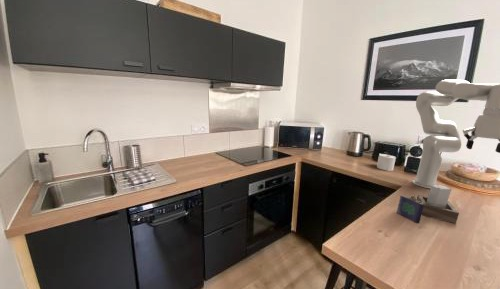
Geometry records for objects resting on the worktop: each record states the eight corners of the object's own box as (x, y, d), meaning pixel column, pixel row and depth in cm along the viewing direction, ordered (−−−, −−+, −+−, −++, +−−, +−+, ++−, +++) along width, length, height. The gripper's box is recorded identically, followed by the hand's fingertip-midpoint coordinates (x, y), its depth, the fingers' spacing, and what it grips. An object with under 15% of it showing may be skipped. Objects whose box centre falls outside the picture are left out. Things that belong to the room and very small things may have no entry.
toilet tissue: (389, 172, 152) (392, 158, 150) (372, 167, 162) (374, 154, 159) (395, 169, 158) (398, 156, 156) (378, 164, 168) (380, 152, 166)
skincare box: (435, 208, 100) (442, 184, 98) (444, 213, 96) (452, 189, 93) (423, 208, 100) (430, 184, 97) (432, 213, 95) (439, 188, 93)
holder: (415, 203, 106) (417, 194, 105) (446, 210, 100) (448, 201, 99) (421, 215, 95) (423, 205, 94) (455, 223, 90) (459, 213, 89)
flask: (395, 212, 96) (400, 191, 94) (399, 211, 97) (404, 190, 95) (417, 224, 88) (423, 201, 86) (421, 222, 89) (427, 200, 87)
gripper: (518, 114, 91) (505, 151, 95) (465, 110, 99) (455, 145, 103) (530, 115, 84) (515, 155, 88) (472, 111, 92) (461, 148, 96)
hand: (483, 150), depth 96 cm, fingers open, 9 cm apart
